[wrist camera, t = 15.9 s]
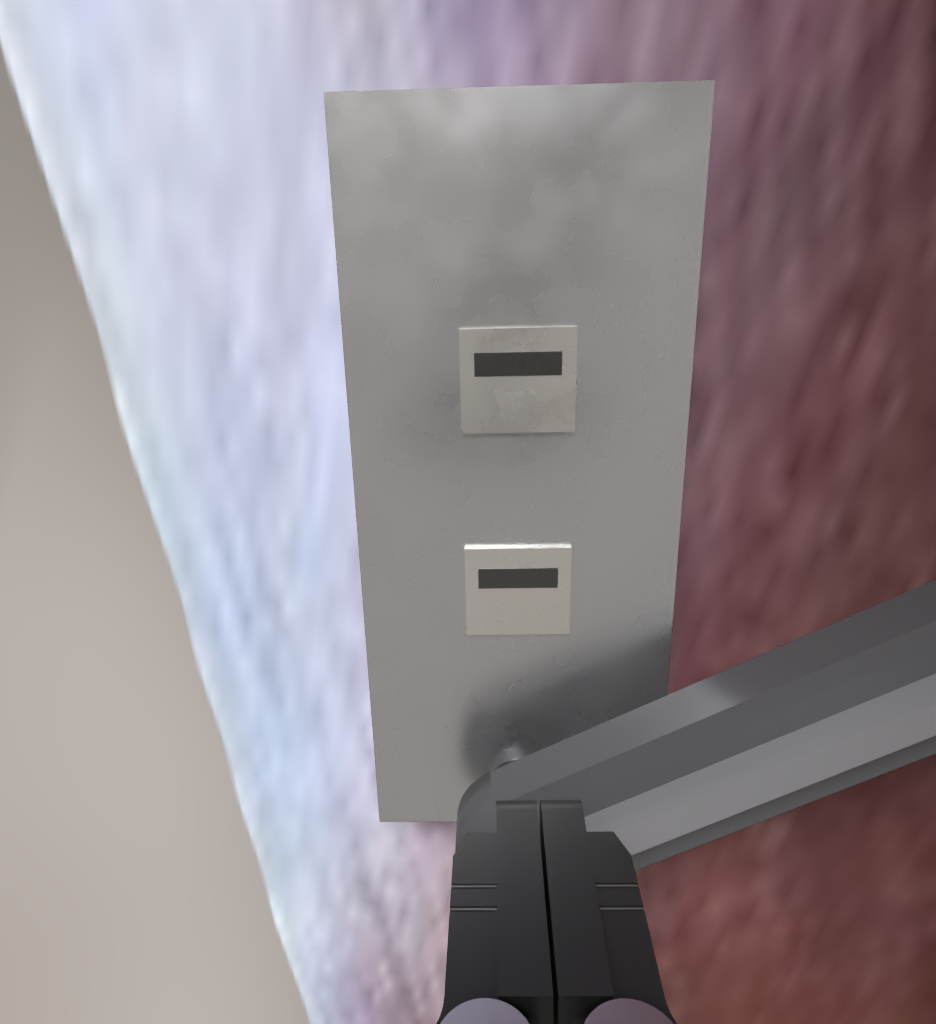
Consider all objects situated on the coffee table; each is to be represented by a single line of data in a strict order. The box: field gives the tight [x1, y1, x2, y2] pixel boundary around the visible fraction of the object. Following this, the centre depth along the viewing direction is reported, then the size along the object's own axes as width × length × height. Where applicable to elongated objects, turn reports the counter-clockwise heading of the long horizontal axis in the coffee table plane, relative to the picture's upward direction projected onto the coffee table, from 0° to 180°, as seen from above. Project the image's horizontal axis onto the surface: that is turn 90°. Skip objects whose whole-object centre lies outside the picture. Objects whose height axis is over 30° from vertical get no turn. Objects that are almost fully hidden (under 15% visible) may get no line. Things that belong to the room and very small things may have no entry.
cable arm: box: [455, 579, 936, 870], centre depth 26 cm, size 5×22×3 cm, turn 118°
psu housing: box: [324, 80, 715, 822], centre depth 28 cm, size 12×28×7 cm, turn 1°
